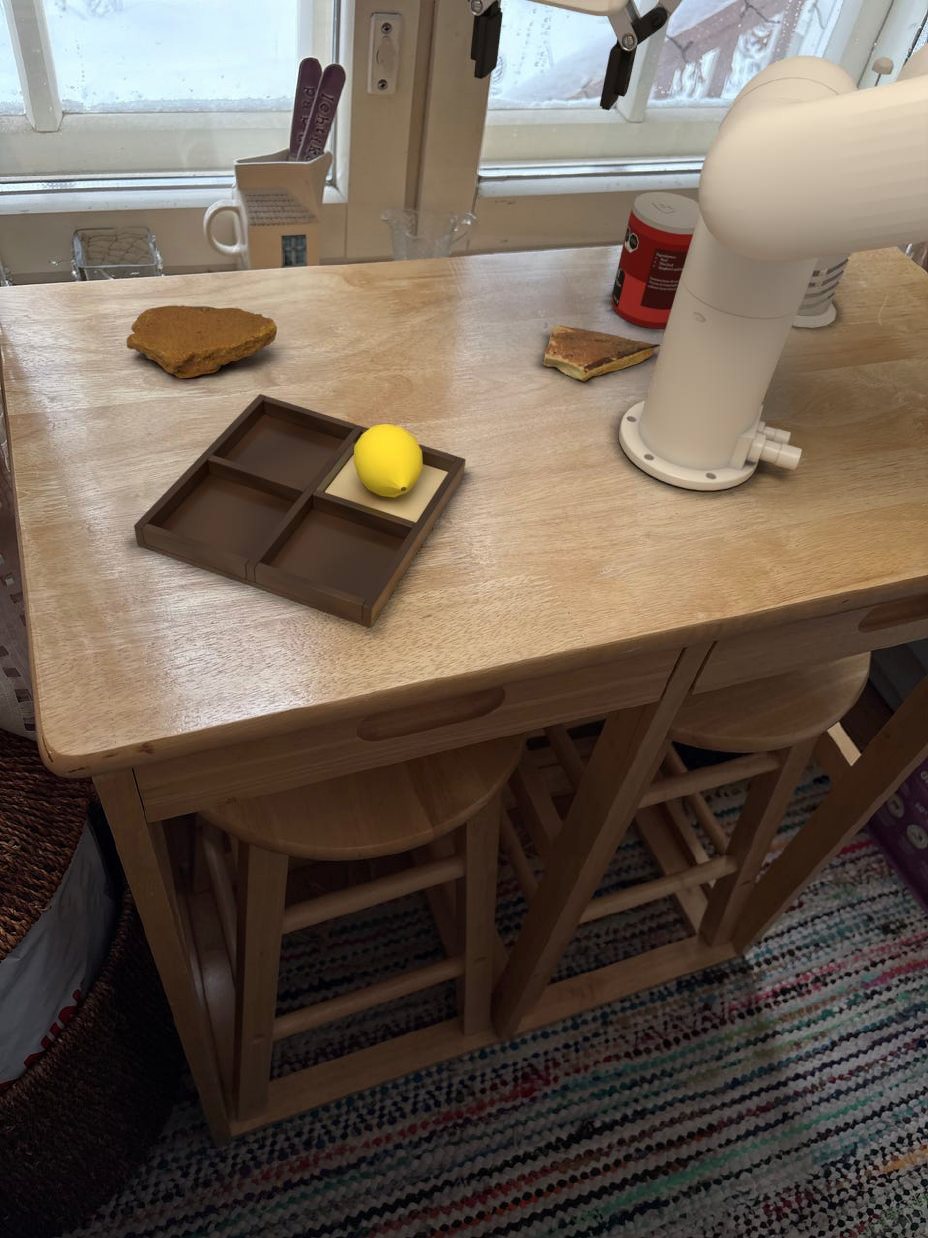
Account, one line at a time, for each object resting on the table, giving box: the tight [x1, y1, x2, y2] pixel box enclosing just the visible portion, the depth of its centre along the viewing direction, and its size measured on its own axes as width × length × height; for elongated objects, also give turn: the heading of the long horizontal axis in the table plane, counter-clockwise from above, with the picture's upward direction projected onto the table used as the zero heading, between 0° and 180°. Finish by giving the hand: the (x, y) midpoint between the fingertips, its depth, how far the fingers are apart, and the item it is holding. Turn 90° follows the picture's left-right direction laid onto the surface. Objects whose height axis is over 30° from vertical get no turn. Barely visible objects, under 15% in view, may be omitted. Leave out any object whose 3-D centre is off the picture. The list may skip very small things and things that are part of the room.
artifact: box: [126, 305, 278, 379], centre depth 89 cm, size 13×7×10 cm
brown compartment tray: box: [133, 393, 467, 629], centre depth 77 cm, size 19×19×2 cm
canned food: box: [610, 191, 700, 329], centre depth 101 cm, size 8×8×11 cm
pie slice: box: [542, 325, 661, 382], centre depth 95 cm, size 11×8×2 cm
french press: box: [792, 56, 895, 329], centre depth 100 cm, size 10×12×25 cm
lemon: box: [353, 423, 423, 497], centre depth 77 cm, size 7×5×5 cm
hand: (546, 88), depth 72 cm, fingers open, 9 cm apart
